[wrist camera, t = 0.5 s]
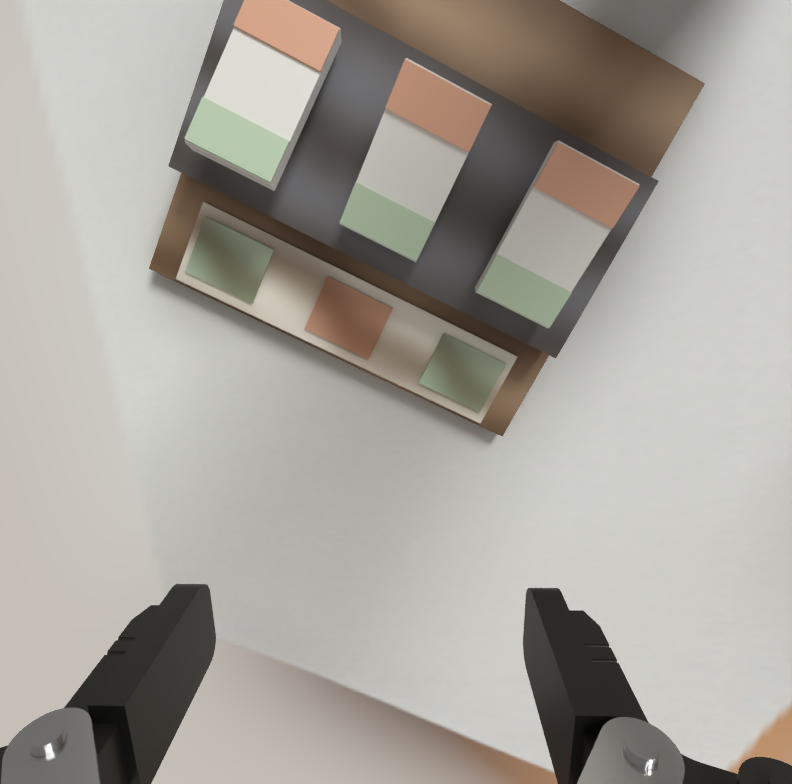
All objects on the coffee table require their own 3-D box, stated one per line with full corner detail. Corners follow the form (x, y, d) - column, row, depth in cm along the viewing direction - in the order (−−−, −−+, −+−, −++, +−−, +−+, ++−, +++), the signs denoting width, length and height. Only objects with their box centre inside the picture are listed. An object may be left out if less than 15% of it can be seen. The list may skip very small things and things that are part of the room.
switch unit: (297, -136, 30) (274, -217, 25) (694, 90, 32) (747, 58, 27) (157, 268, 36) (116, 269, 31) (499, 431, 38) (513, 456, 33)
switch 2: (407, 62, 27) (405, 56, 25) (490, 106, 27) (492, 103, 26) (343, 222, 30) (338, 224, 29) (417, 259, 31) (415, 262, 29)
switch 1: (258, -3, 27) (253, -21, 26) (341, 41, 28) (340, 26, 26) (192, 150, 28) (183, 140, 27) (274, 191, 28) (269, 183, 27)
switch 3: (554, 141, 27) (559, 140, 26) (632, 183, 28) (640, 184, 27) (474, 288, 31) (475, 292, 30) (544, 323, 31) (548, 329, 30)
